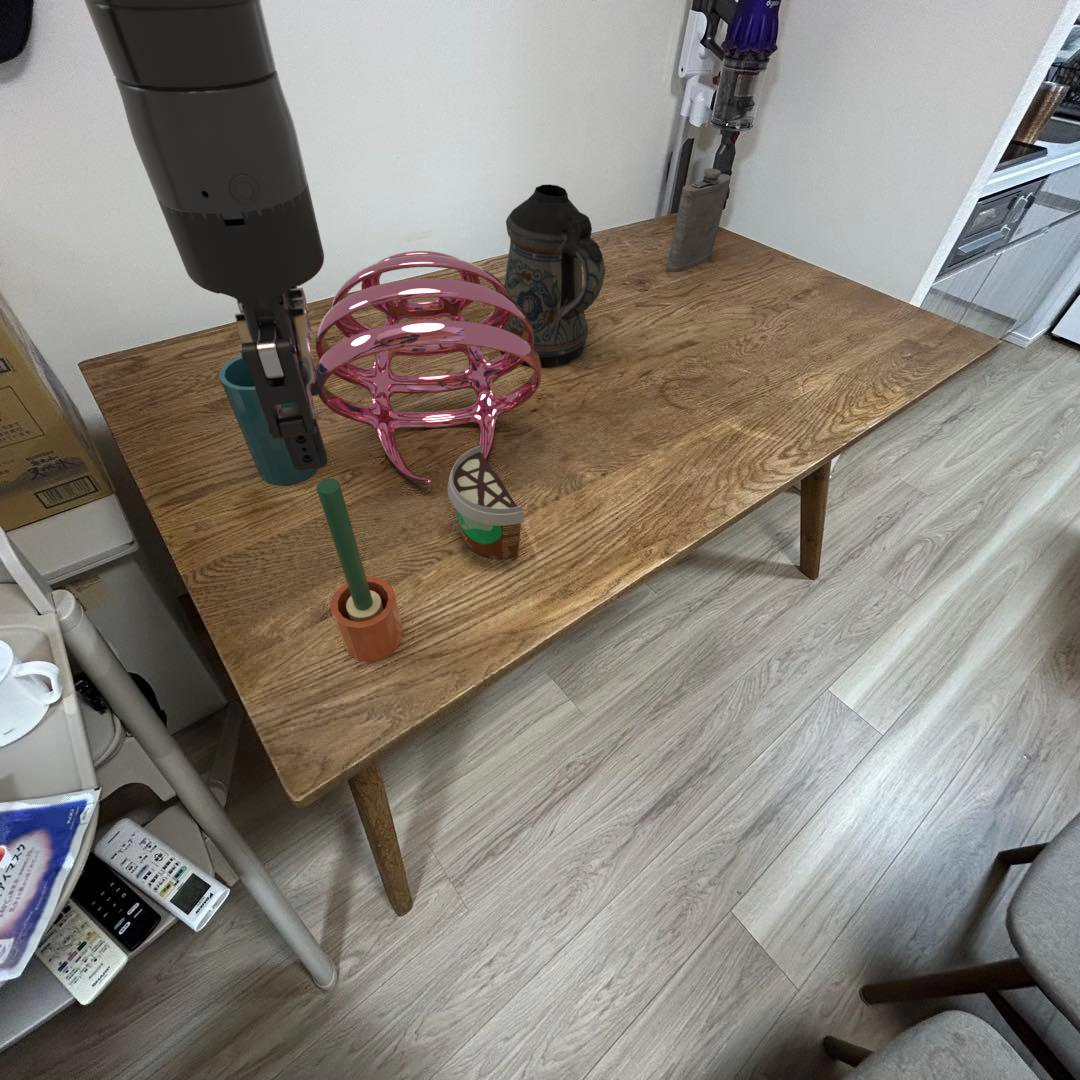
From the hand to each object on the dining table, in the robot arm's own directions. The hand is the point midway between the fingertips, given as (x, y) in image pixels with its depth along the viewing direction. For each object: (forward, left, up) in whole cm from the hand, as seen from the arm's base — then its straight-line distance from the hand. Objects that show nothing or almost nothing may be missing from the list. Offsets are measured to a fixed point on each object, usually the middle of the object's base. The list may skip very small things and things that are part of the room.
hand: (309, 427), depth 44 cm
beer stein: (+36, +53, -28) cm, 70 cm away
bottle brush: (0, 0, -28) cm, 28 cm away
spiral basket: (+13, +31, -28) cm, 44 cm away
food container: (+14, +11, -28) cm, 34 cm away
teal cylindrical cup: (-8, +31, -28) cm, 43 cm away
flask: (+77, +79, -28) cm, 114 cm away
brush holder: (0, 0, -28) cm, 28 cm away
